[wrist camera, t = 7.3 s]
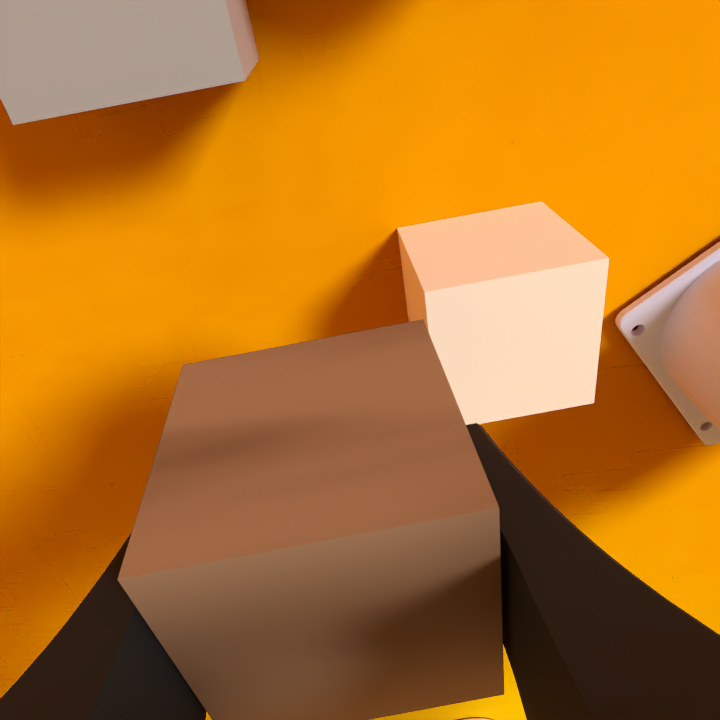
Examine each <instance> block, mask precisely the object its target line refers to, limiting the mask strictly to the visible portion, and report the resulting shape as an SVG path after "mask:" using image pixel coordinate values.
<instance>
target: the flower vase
mask: <svg viewBox="0 0 720 720" xmlns="http://www.w3.org/2000/svg"><path fill="white" fill-rule="evenodd" d="M462 720H492V719H486V718H470V719H462Z"/></svg>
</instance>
